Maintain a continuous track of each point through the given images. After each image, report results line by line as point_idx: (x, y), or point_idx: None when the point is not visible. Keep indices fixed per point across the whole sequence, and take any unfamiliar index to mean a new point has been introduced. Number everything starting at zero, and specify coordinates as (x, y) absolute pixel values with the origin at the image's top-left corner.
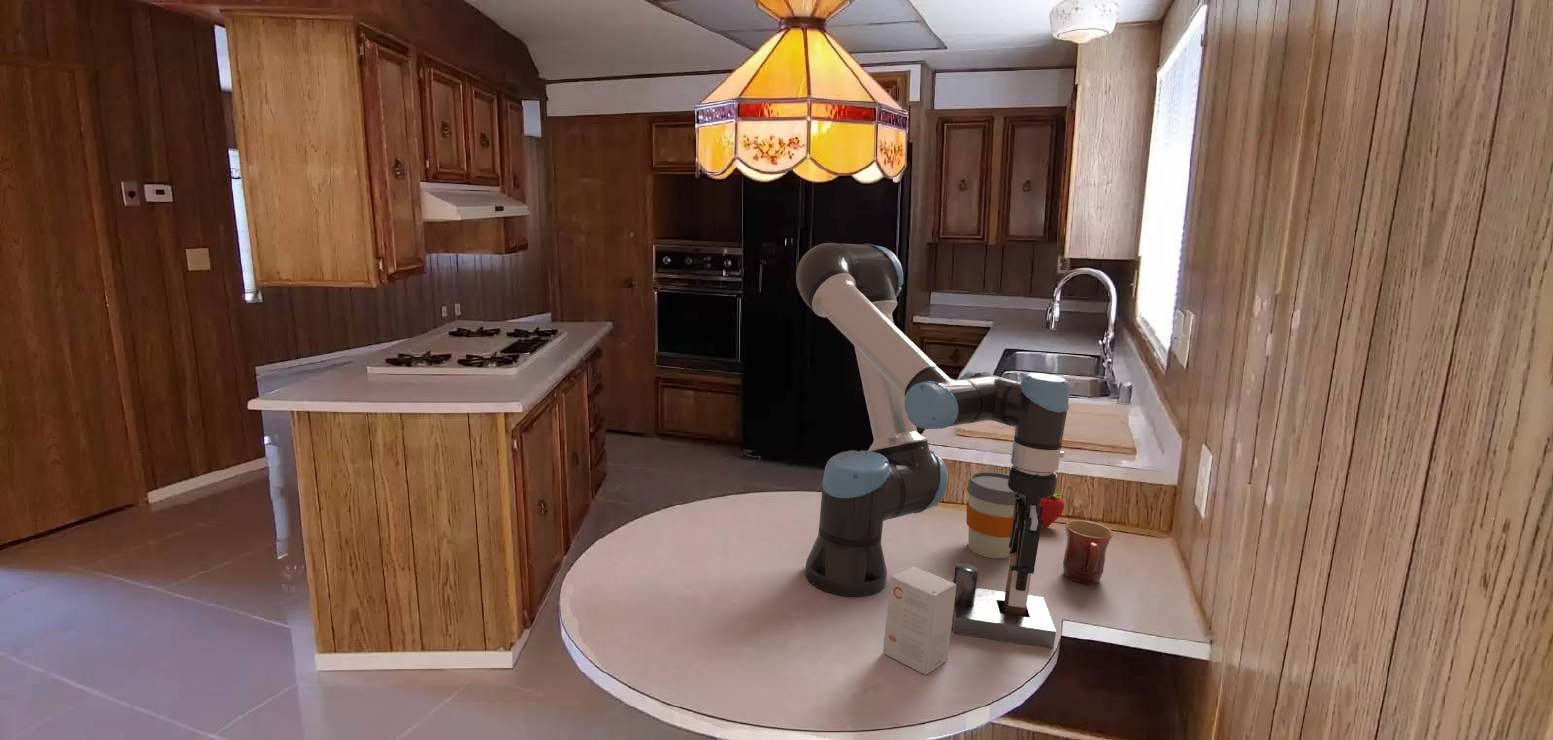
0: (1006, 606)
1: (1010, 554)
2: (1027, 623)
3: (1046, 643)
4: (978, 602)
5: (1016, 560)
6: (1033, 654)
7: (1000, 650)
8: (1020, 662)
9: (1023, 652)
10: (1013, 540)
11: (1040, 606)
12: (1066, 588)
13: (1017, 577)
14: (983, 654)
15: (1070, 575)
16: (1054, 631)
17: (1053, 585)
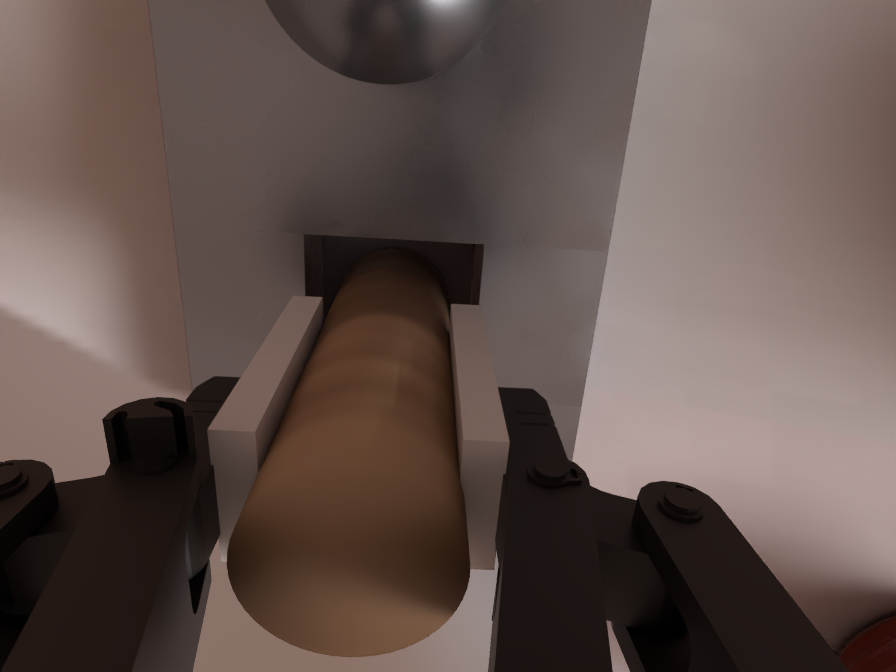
0: (353, 285)
1: (535, 462)
2: (233, 367)
3: None
4: (416, 116)
5: (140, 510)
6: (142, 342)
7: (110, 190)
8: (37, 269)
9: (141, 300)
10: (526, 608)
11: None
12: (798, 588)
13: (203, 428)
14: (25, 87)
15: (887, 634)
16: None
17: (826, 547)
